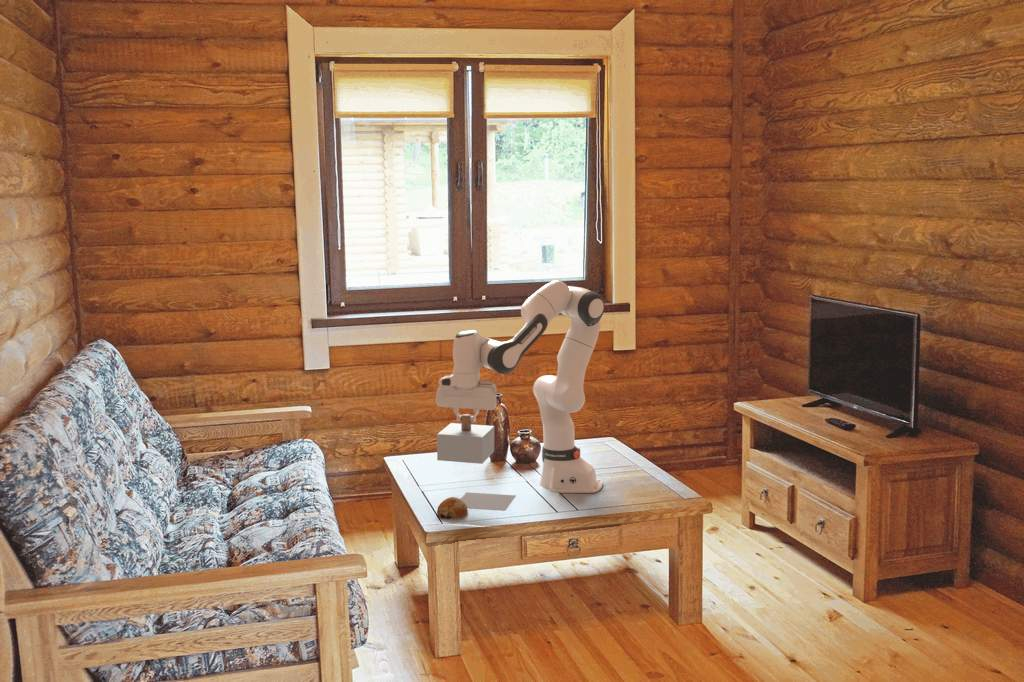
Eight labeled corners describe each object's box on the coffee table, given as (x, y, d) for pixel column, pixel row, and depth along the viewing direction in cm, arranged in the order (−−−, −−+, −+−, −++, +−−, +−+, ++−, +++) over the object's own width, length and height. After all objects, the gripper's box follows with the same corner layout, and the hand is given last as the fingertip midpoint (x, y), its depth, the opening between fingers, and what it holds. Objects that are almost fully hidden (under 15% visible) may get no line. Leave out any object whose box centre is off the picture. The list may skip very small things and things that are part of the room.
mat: (516, 497, 356) (516, 495, 356) (505, 512, 340) (505, 510, 340) (466, 493, 360) (466, 492, 360) (453, 508, 345) (453, 507, 344)
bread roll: (469, 528, 336) (477, 505, 337) (444, 521, 330) (453, 498, 331) (453, 520, 344) (461, 497, 345) (428, 513, 338) (437, 490, 339)
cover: (494, 451, 346) (494, 411, 344) (482, 463, 331) (482, 422, 329) (451, 448, 350) (451, 408, 347) (437, 460, 335) (437, 419, 333)
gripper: (499, 380, 337) (499, 421, 339) (439, 376, 342) (439, 417, 344) (494, 383, 331) (494, 425, 333) (434, 380, 336) (434, 421, 338)
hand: (466, 421), depth 339 cm, fingers closed on cover, 3 cm apart
